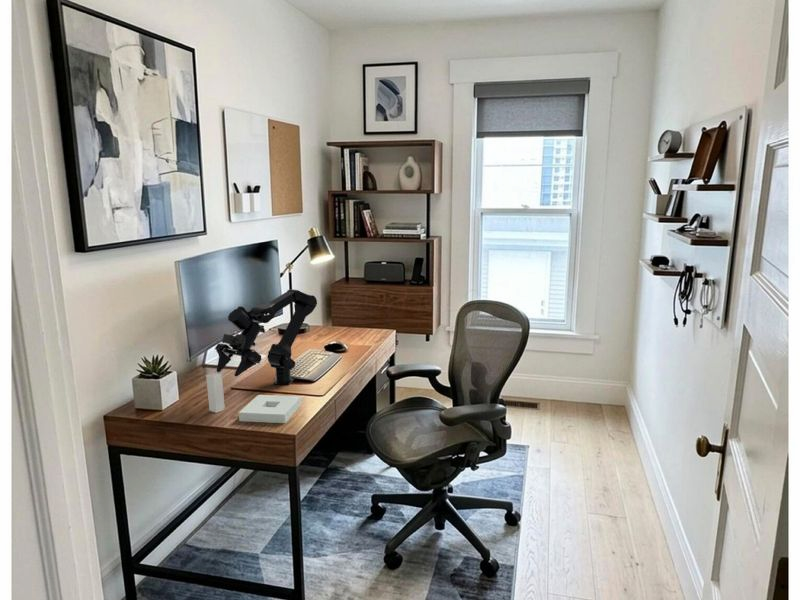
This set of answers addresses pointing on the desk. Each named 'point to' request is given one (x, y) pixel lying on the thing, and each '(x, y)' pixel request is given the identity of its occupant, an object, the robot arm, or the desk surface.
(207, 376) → the plug
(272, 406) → the socket
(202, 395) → the desk surface
